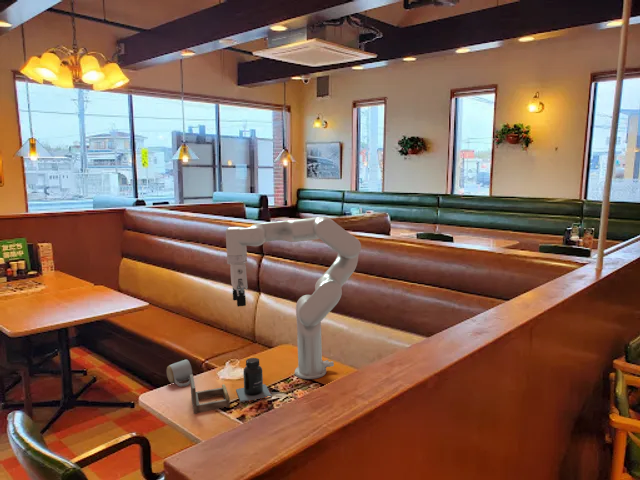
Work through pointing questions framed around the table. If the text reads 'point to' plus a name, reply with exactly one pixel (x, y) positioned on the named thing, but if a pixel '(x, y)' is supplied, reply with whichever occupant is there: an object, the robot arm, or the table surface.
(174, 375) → the ceramic mug
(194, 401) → the dispenser stand
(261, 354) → the table surface
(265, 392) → the rubber pad
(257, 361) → the supplement bottle
